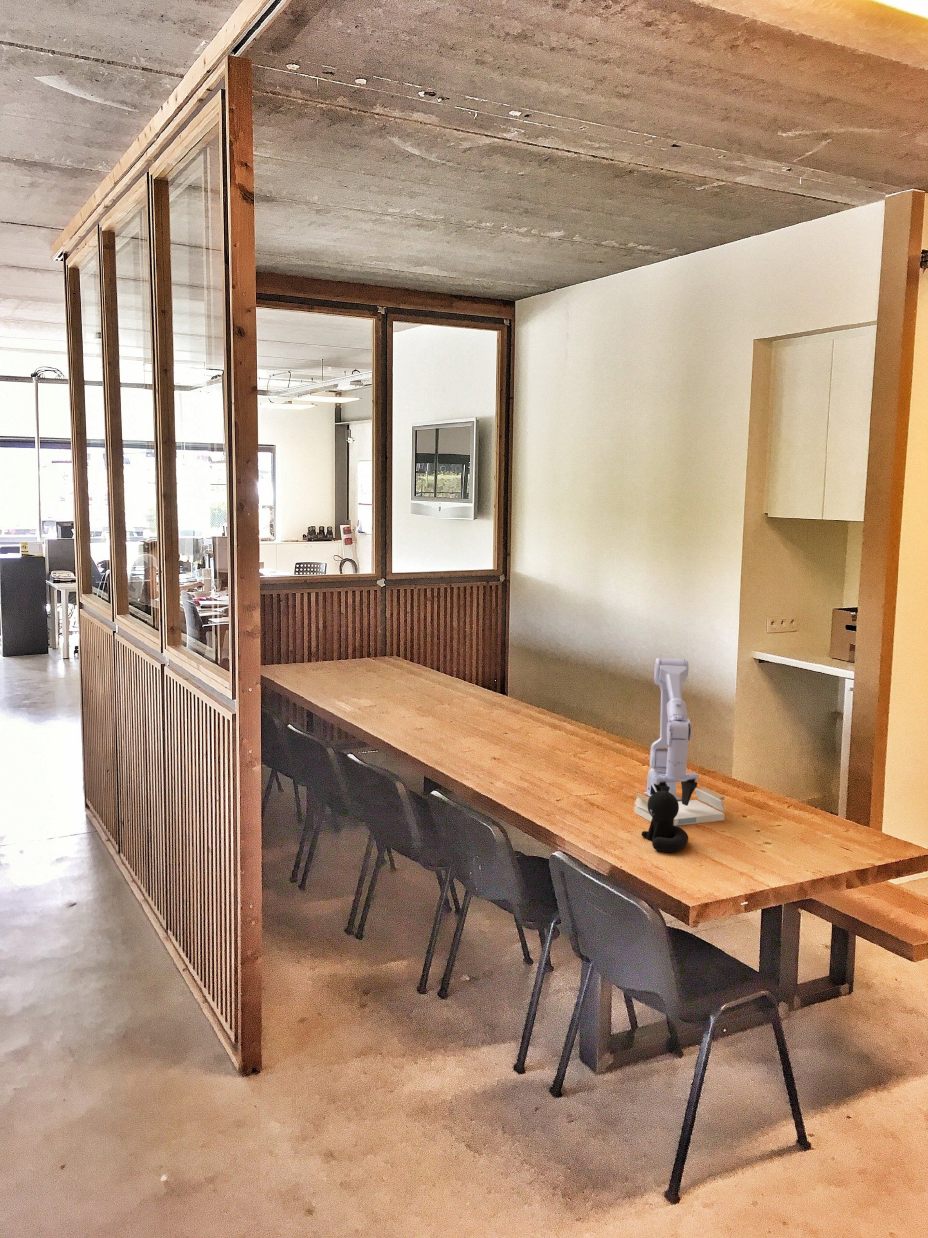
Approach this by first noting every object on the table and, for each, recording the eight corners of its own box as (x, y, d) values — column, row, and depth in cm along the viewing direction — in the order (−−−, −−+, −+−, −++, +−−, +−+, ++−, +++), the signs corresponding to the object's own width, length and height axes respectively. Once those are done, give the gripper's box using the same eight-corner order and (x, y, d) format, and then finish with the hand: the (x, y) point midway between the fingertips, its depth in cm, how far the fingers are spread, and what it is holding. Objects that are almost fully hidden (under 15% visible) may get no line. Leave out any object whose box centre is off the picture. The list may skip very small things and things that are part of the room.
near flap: (636, 804, 302) (629, 802, 301) (640, 793, 302) (634, 791, 301) (660, 818, 290) (653, 816, 289) (664, 807, 290) (658, 804, 289)
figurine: (627, 837, 281) (630, 784, 279) (667, 831, 287) (670, 780, 285) (662, 857, 267) (665, 801, 265) (704, 850, 273) (707, 796, 271)
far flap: (723, 811, 298) (729, 808, 299) (720, 801, 297) (726, 797, 298) (697, 798, 310) (703, 795, 311) (694, 788, 309) (700, 785, 310)
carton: (634, 812, 303) (634, 806, 302) (696, 806, 311) (696, 799, 311) (660, 827, 290) (661, 820, 290) (724, 820, 298) (724, 814, 298)
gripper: (663, 766, 291) (660, 812, 293) (705, 762, 297) (702, 807, 298) (650, 760, 298) (647, 804, 299) (691, 756, 303) (688, 800, 305)
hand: (674, 805), depth 299 cm, fingers open, 7 cm apart
